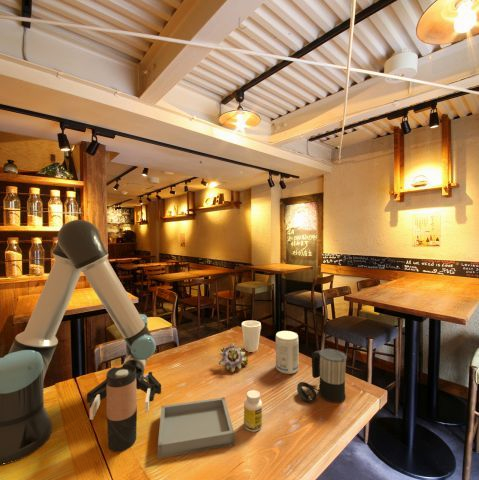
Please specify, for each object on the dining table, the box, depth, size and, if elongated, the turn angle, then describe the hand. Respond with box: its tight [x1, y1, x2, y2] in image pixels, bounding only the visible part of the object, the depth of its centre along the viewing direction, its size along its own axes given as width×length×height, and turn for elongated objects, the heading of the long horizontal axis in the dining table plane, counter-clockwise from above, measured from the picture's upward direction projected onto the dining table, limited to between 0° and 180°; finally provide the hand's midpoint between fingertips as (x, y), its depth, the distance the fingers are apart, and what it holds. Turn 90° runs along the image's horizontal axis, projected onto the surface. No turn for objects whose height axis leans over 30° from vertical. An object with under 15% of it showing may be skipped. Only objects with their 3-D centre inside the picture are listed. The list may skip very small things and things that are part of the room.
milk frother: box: [296, 348, 348, 403], centre depth 95 cm, size 14×16×15 cm
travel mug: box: [106, 364, 138, 453], centre depth 75 cm, size 8×8×20 cm
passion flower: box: [218, 342, 249, 373], centre depth 116 cm, size 11×11×12 cm
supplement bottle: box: [243, 389, 263, 433], centre depth 81 cm, size 5×5×10 cm
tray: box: [157, 397, 235, 460], centre depth 79 cm, size 20×16×4 cm
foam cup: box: [241, 320, 262, 352], centre depth 132 cm, size 10×9×13 cm
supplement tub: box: [275, 330, 300, 375], centre depth 114 cm, size 10×10×15 cm
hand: (119, 410), depth 71 cm, fingers open, 13 cm apart
